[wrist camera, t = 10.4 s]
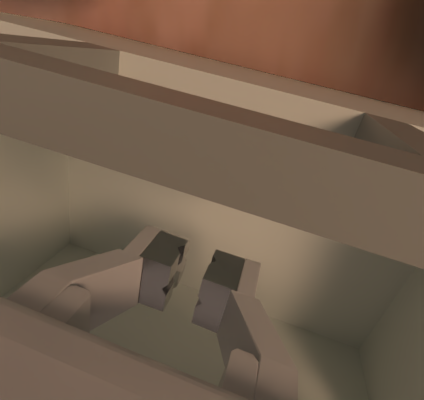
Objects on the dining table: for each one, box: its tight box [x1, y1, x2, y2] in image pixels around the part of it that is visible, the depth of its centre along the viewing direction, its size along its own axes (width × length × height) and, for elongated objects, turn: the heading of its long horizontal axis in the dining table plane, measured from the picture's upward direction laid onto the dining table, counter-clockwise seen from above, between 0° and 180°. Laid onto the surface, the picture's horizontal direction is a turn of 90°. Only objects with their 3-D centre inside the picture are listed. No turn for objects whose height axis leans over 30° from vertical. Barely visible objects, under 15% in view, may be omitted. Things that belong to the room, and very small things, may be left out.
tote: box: [0, 12, 424, 400], centre depth 10 cm, size 18×12×10 cm, turn 78°
